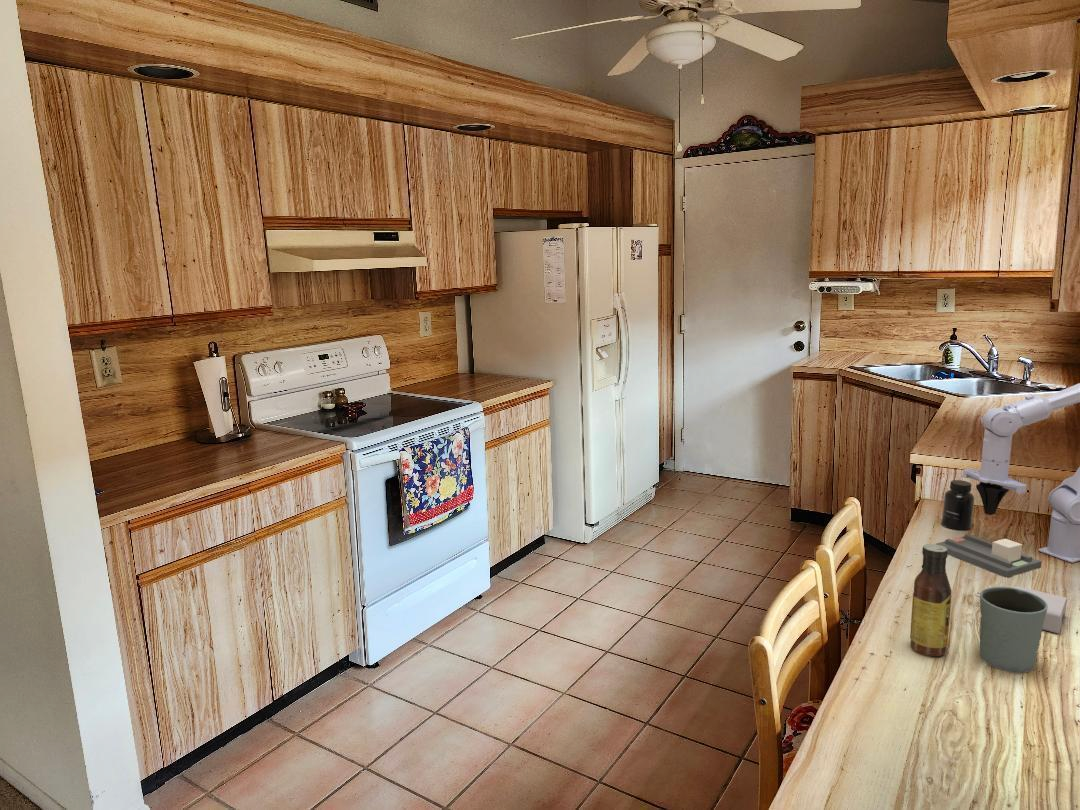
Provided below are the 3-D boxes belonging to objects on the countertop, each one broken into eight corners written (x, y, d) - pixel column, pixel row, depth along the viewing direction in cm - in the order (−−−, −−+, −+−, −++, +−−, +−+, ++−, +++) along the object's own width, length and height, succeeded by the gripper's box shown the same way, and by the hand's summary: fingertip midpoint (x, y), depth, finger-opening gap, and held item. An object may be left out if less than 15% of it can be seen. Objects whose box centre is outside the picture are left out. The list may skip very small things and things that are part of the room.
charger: (979, 596, 160) (1065, 617, 151) (969, 613, 153) (1058, 636, 144) (982, 575, 159) (1067, 595, 150) (972, 591, 152) (1061, 613, 143)
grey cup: (1038, 654, 137) (1046, 593, 135) (1041, 682, 129) (1049, 617, 126) (974, 640, 142) (980, 581, 140) (973, 666, 134) (979, 604, 131)
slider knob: (1003, 552, 177) (1005, 538, 176) (1020, 559, 173) (1022, 544, 172) (991, 556, 175) (992, 541, 174) (1007, 562, 171) (1009, 548, 171)
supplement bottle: (944, 529, 196) (948, 485, 194) (939, 520, 203) (943, 477, 200) (974, 531, 194) (978, 487, 192) (967, 522, 201) (972, 479, 198)
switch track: (968, 540, 189) (969, 531, 188) (1041, 567, 173) (1042, 557, 172) (935, 549, 184) (936, 539, 184) (1006, 577, 168) (1007, 567, 168)
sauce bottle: (951, 659, 136) (961, 556, 132) (914, 656, 138) (923, 554, 133) (940, 641, 143) (949, 542, 138) (904, 638, 144) (912, 540, 140)
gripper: (956, 453, 183) (951, 507, 186) (1014, 469, 170) (1008, 526, 173) (975, 450, 186) (970, 502, 188) (1034, 464, 173) (1028, 521, 176)
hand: (989, 513), depth 181 cm, fingers closed
